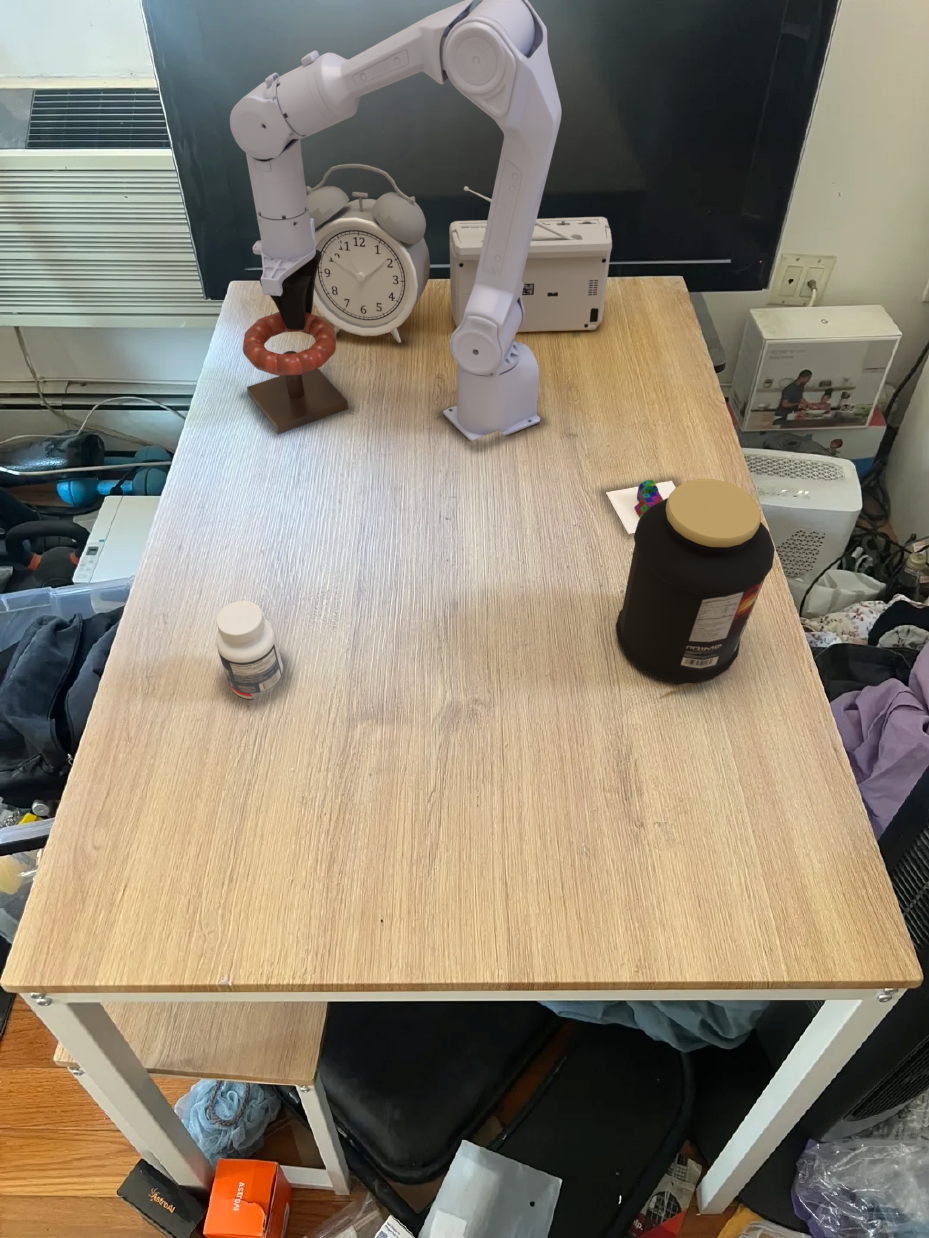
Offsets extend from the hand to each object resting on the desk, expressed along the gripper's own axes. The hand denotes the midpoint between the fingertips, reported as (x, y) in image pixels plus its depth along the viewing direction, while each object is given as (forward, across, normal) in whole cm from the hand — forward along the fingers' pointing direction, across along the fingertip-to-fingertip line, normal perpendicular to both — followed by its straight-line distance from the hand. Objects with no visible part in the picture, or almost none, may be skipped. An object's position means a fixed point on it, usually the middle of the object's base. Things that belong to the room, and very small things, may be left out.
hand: (299, 320), depth 110 cm
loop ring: (0, +4, 0) cm, 4 cm away
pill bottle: (+10, +46, +8) cm, 48 cm away
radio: (+10, -20, +26) cm, 34 cm away
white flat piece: (+10, +16, +44) cm, 48 cm away
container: (+10, +36, +47) cm, 60 cm away
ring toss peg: (+10, +3, -1) cm, 10 cm away
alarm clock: (+10, -15, +5) cm, 18 cm away
